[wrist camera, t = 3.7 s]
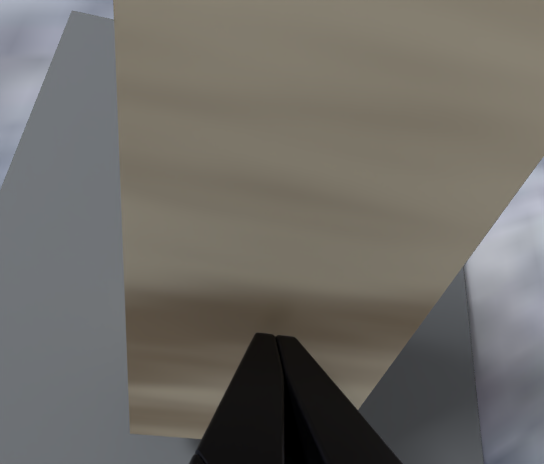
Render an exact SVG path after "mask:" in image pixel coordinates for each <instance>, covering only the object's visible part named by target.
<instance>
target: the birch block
mask: <svg viewBox="0 0 544 464" xmlns="http://www.w3.org/2000/svg"><path fill="white" fill-rule="evenodd" d="M113 5H114V31H115V57H116V83H117V109H118V135H119V161H120V187H121V213H122V240H123V266H124V292H125V318H126V344H127V370H128V396H129V422H130V434H140V435H153V436H166V437H179V438H192V439H202V437H203V435H204V433H205V431H206V429H207V427H208V425H209V423H210V421H211V419H212V417H213V415H214V413H215V411H216V409H217V407H218V405H219V403H220V401H221V399H222V398H223V396H224V394H225V392H226V390H227V388H228V386H229V384H230V382H231V380H232V378H233V376H234V374H235V372H236V370H237V368H238V366H239V364H240V362H241V360H242V358H243V356H244V354H245V352H246V350H247V348H248V346H249V344H250V342H251V340H252V338H253V336H254V334H255V333H257V332H260V333H268V334H273V335H274V336H275V337H276V336H277V335H285V336H293V337H295V338H297V339H298V341H299V342H300V343H301V344H302V345H303V346H304V348H305V349H306V350H307V351H308V352H309V353H310V355H311V356H312V357H313V358H314V359H315V361H316V362H317V363H318V364H319V365H320V366H321V368H322V369H323V370H324V371H325V372H326V373H327V375H328V376H329V377H330V378H331V379H332V380H333V382H334V383H335V384H336V385H337V386H338V387H339V389H340V390H341V391H342V392H343V393H344V394H345V396H346V397H347V398H348V399H349V400H350V402H351V403H352V404H353V405H354V406H355V407H356V409H357V410H358V409H359V408H360V407H361V405H362V404H363V402H364V401H365V400H366V398H367V397H368V396H369V394H370V393H371V392H372V390H373V389H374V387H375V386H376V385H377V383H378V382H379V381H380V379H381V378H382V376H383V375H384V374H385V372H386V371H387V370H388V368H389V367H390V366H391V364H392V363H393V361H394V360H395V359H396V357H397V356H398V355H399V353H400V352H401V351H402V349H403V348H404V346H405V345H406V344H407V342H408V341H409V340H410V338H411V337H412V335H413V334H414V333H415V331H416V330H417V329H418V327H419V326H420V325H421V323H422V322H423V320H424V319H425V318H426V316H427V315H428V314H429V312H430V311H431V309H432V308H433V307H434V305H435V304H436V303H437V301H438V300H439V299H440V297H441V296H442V294H443V293H444V292H445V290H446V289H447V288H448V286H449V285H450V284H451V282H452V281H453V279H454V278H455V277H456V275H457V274H458V273H459V271H460V270H461V268H462V267H463V266H464V264H465V263H466V262H467V260H468V259H469V258H470V256H471V255H472V253H473V252H474V251H475V249H476V248H477V247H478V245H479V244H480V242H481V241H482V240H483V238H484V237H485V236H486V234H487V233H488V232H489V230H490V229H491V227H492V226H493V225H494V223H495V222H496V221H497V219H498V218H499V217H500V215H501V214H502V212H503V211H504V210H505V208H506V207H507V206H508V204H509V203H510V201H511V200H512V199H513V197H514V196H515V195H516V193H517V192H518V191H519V189H520V188H521V186H522V185H523V184H524V182H525V181H526V180H527V178H528V177H529V175H530V174H531V173H532V171H533V170H534V169H535V167H536V166H537V165H538V163H539V162H540V160H541V159H542V158H543V156H544V0H113Z"/></svg>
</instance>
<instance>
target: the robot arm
mask: <svg viewBox="0 0 544 464" xmlns="http://www.w3.org/2000/svg"><path fill="white" fill-rule="evenodd" d="M189 464H403V462H402V461H401V460H400V459H399V458H398V457H397V455H396V454H395V453H394V452H393V451H392V450H391V448H390V447H389V446H388V445H387V444H386V442H385V441H384V440H383V439H382V438H381V437H380V435H379V434H378V433H377V432H376V431H375V430H374V428H373V427H372V426H371V425H370V424H369V423H368V421H367V420H366V419H365V418H364V417H363V416H362V414H361V413H360V412H359V411H358V410H357V409H356V407H355V406H354V405H353V404H352V403H351V402H350V400H349V399H348V398H347V397H346V396H345V394H344V393H343V392H342V391H341V390H340V389H339V387H338V386H337V385H336V384H335V383H334V382H333V380H332V379H331V378H330V377H329V376H328V375H327V373H326V372H325V371H324V370H323V369H322V368H321V366H320V365H319V364H318V363H317V362H316V361H315V359H314V358H313V357H312V356H311V355H310V353H309V352H308V351H307V350H306V349H305V348H304V346H303V345H302V344H301V343H300V342H299V341H298V339H297V338H295V337H293V336H285V335H277V336H276V337H275V336H274V335H273V334H268V333H260V332H257V333H255V334H254V336H253V338H252V340H251V342H250V344H249V346H248V348H247V350H246V352H245V354H244V356H243V358H242V360H241V362H240V364H239V366H238V368H237V370H236V372H235V374H234V376H233V378H232V380H231V382H230V384H229V386H228V388H227V390H226V392H225V394H224V396H223V398H222V399H221V401H220V403H219V405H218V407H217V409H216V411H215V413H214V415H213V417H212V419H211V421H210V423H209V425H208V427H207V429H206V431H205V433H204V435H203V437H202V439H201V441H200V443H199V445H198V447H197V449H196V451H195V455H193V456H192V458H191V460H190V462H189Z"/></svg>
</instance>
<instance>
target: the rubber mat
mask: <svg viewBox="0 0 544 464" xmlns="http://www.w3.org/2000/svg"><path fill="white" fill-rule="evenodd" d="M358 411H359V412H360V413H361V414H362V416H363V417H364V418H365V419H366V420H367V421H368V423H369V424H370V425H371V426H372V427H373V428H374V430H375V431H376V432H377V433H378V434H379V435H380V437H381V438H382V439H383V440H384V441H385V442H386V444H387V445H388V446H389V447H390V448H391V450H392V451H393V452H394V453H395V454H396V455H397V457H398V458H399V459H400V460H401V461H402V462H403V464H484V463H483V453H482V443H481V434H480V424H479V414H478V404H477V395H476V385H475V375H474V366H473V356H472V346H471V336H470V327H469V317H468V307H467V297H466V288H465V278H464V268H463V267H462V268H461V270H460V271H459V273H458V274H457V275H456V277H455V278H454V279H453V281H452V282H451V284H450V285H449V286H448V288H447V289H446V290H445V292H444V293H443V294H442V296H441V297H440V299H439V300H438V301H437V303H436V304H435V305H434V307H433V308H432V309H431V311H430V312H429V314H428V315H427V316H426V318H425V319H424V320H423V322H422V323H421V325H420V326H419V327H418V329H417V330H416V331H415V333H414V334H413V335H412V337H411V338H410V340H409V341H408V342H407V344H406V345H405V346H404V348H403V349H402V351H401V352H400V353H399V355H398V356H397V357H396V359H395V360H394V361H393V363H392V364H391V366H390V367H389V368H388V370H387V371H386V372H385V374H384V375H383V376H382V378H381V379H380V381H379V382H378V383H377V385H376V386H375V387H374V389H373V390H372V392H371V393H370V394H369V396H368V397H367V398H366V400H365V401H364V402H363V404H362V405H361V407H360V408H359V409H358ZM200 441H201V439H192V438H179V437H166V436H153V435H140V434H130V422H129V396H128V370H127V344H126V318H125V292H124V266H123V240H122V213H121V187H120V161H119V135H118V109H117V83H116V57H115V31H114V20H113V19H108V18H104V17H99V16H95V15H90V14H86V13H81V12H77V11H72V12H71V14H70V17H69V19H68V22H67V24H66V27H65V29H64V32H63V34H62V37H61V39H60V42H59V44H58V47H57V49H56V52H55V54H54V57H53V59H52V62H51V64H50V67H49V69H48V72H47V74H46V77H45V79H44V82H43V84H42V87H41V89H40V92H39V94H38V97H37V99H36V102H35V104H34V107H33V109H32V112H31V114H30V117H29V119H28V122H27V124H26V127H25V129H24V132H23V134H22V137H21V139H20V142H19V144H18V147H17V149H16V152H15V154H14V157H13V160H12V162H11V165H10V167H9V170H8V172H7V175H6V177H5V180H4V182H3V185H2V187H1V190H0V464H189V462H190V460H191V458H192V456H193V455H195V451H196V449H197V447H198V445H199V443H200Z"/></svg>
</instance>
